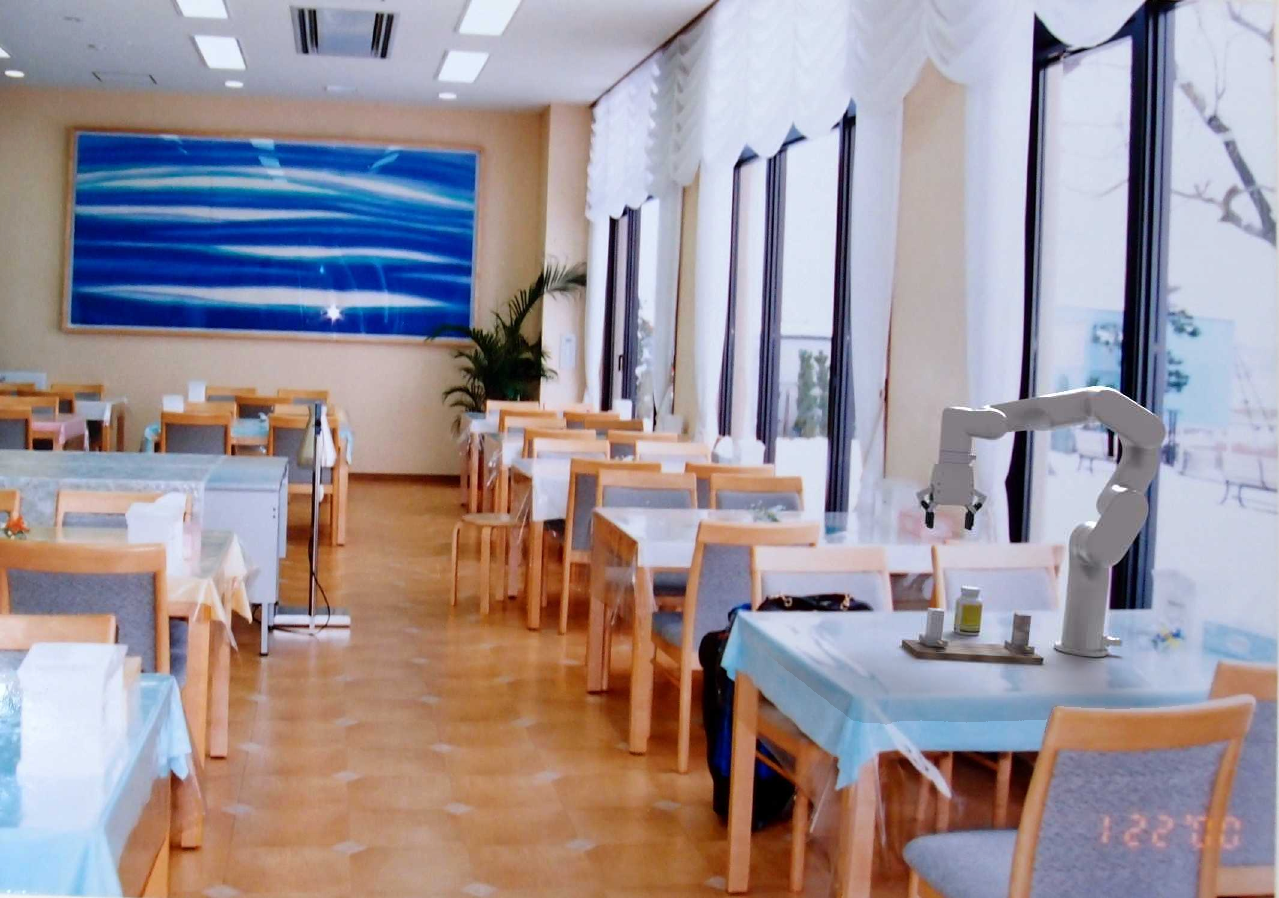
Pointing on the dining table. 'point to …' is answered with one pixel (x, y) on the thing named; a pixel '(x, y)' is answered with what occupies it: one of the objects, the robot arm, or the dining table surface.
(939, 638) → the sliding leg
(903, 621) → the dining table surface
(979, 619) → the pill bottle
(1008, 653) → the wooden board with posts
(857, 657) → the dining table surface
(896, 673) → the dining table surface
